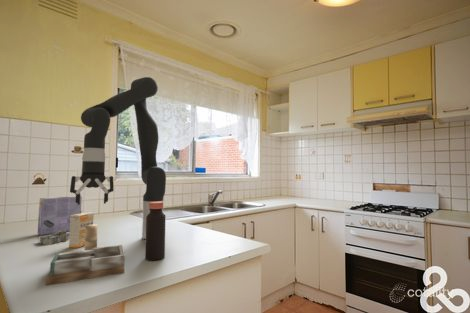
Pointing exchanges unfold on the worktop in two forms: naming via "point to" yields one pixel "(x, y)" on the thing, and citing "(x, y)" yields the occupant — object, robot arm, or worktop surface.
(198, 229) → the worktop surface
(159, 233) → the bottle
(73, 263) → the brown shallow boxy piece
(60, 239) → the egg carton
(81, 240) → the supplement box
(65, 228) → the cake pan box
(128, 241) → the worktop surface
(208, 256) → the worktop surface
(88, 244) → the keyhole peg
